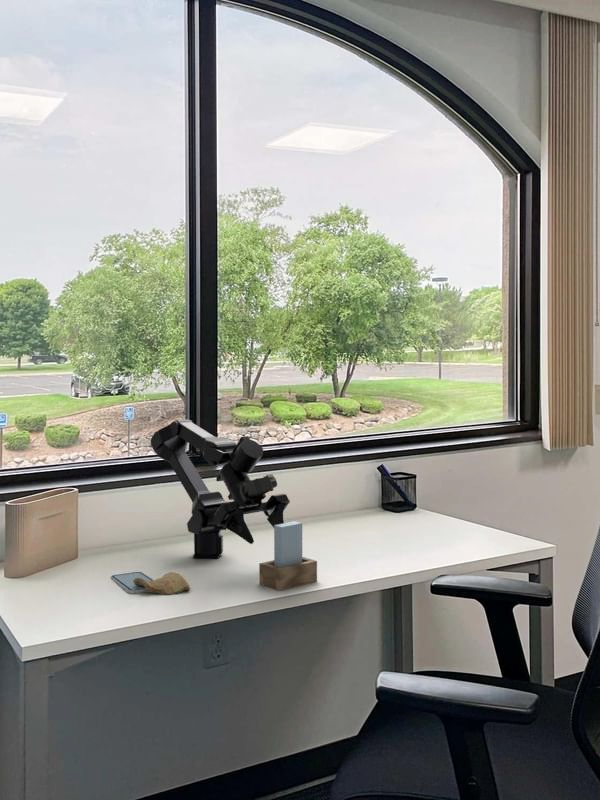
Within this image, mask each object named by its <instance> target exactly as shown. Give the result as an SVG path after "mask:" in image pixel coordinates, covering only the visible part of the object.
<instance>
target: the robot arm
mask: <svg viewBox="0 0 600 800" xmlns="http://www.w3.org/2000/svg"><path fill="white" fill-rule="evenodd" d="M187 443H188V444H190V445H191V446H193V447H195V448H196V449H197V450H199V451H201V453H202V458H203V459H204V461H206V462H207V463H208V464H209V466H212V467H213V466H215V467H216V466H222V467H221V469H218V472H217V475H216V482H223V483H224V485H225V486H226V489H227V490H228V493H229V494H228V495H227V498H228V500H229V501H226V500H225V499H224V497H223V495H222V493H221V492H220V491H210V490H209V488H208V487H207V485H206V484H205V482H204V480H203V479H202V477H201V475H200V474H199V472H198V470H197V469H196V468H195V466H194V464H193V462H192V461H191V458H190V457H189V456H188V454H187V452H186V450H187ZM150 446H151V448H152V450H153V451H154V452H155V454H156V455H157V456H158V457H159V458H160V459H162V460H164V461H166V462H168V463H169V464H170V467H171V468H172V470H173V472H174V473H175V475H176V476H177V478H178V480H179V481H180V484H181V486H182V487H183V488H184V490H185V492H186V494H187V496H188V498H189V499H190V501H191V502H192V506H191V515H192V516H191V517H190V518H189V520H188V521H187V522H186V527H187V532H188V533H191V534H193V544H194V545H193V546H194V547H193V551H194V552H193V554H192V559H193V558H194V559H219V558H220V557H221V556H222V554H223V552H224V536H223V535H222V533H221V532H222V531H226V530H229V531H230V532H232V533H234V534H235V535H237V536H238V537H240V538H241V539H243V540H244V541H245V542H247V543H248V544H250V545H253V544H254V542H255V540H254V538H253V535H252V533H251V531H250V529H249V527H248V525H247V523H246V521H245V518H244V517H245V516H244V515H248V514H249V515H251V514H256V513H259V512H260V513H261V512H263V513H264V515H265V516H266V517H267V518H266V520H267V521H268V523H269V524H270V525H271V527H272V528H273V529H274V525H278V524H283V523H284V511H285V509H286V508H287V506H288V505H289V504H290V503H291V501H290V499H289V497H288V495H287V494H286V493H278V494H271V496H270V497H269V498H268V499H267V501H265V502H263V500H264V499H265V498H266V497H267V495H266V494H267V493H269V492H273V491H274V488H276V487H277V486H278V482H277V479H276V477H275V476H274V474H272V473H269V474H266V476H265V475H264V476H263V477H259V478H255V479H250V477H249V475H248V473H251V472H252V471H253V470H254V468H255V467H256V466H257V464H258V462H259V461H260V459H261V458H262V457H263V455H264V449H263V447H262V445H261V444H260V443H258V442H257V441H255V440H254V439H250V436H249V435H246V436H245V435H244V436H240V438H239V440H238V442H237V443H236V442H235V440H233V439H228V438H227V437H226V438H225V437H218V436H214V435H213V434H211V433H209V432H208V431H207V430H205V429H203V428H202V427H200V426H198V425H197V424H195V423H194V422H193V420H191V419H176V420H173V421H172V422H171V423H170V424H168V425H166V426H164V427H162V428H160V429H159V430H157V431H155V432H154V434H153V435H152V436H151V438H150Z"/></svg>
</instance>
